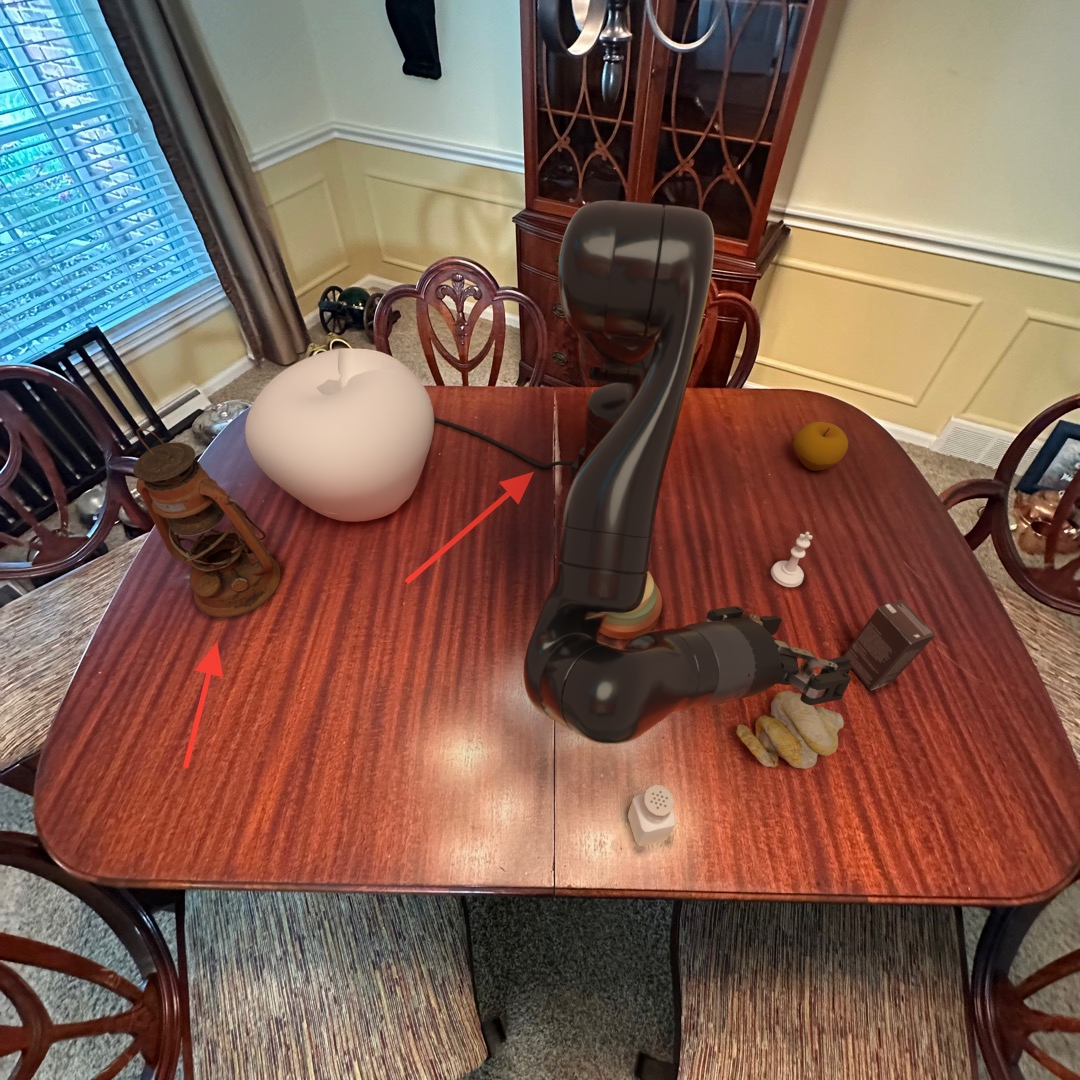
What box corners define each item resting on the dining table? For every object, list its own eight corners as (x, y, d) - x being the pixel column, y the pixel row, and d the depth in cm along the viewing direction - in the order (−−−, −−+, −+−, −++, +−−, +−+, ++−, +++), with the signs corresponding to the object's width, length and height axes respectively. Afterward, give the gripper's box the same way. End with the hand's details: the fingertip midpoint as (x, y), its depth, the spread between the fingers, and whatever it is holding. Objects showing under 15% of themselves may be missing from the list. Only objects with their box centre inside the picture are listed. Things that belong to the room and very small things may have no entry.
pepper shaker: (657, 805, 72) (670, 777, 65) (669, 840, 70) (683, 815, 63) (625, 813, 72) (635, 785, 65) (636, 848, 69) (647, 823, 62)
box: (895, 681, 83) (938, 634, 74) (868, 691, 82) (909, 645, 73) (865, 646, 87) (903, 597, 78) (839, 655, 86) (875, 607, 77)
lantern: (164, 609, 91) (41, 459, 69) (209, 545, 100) (113, 393, 77) (269, 625, 89) (177, 476, 67) (305, 558, 98) (235, 406, 75)
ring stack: (566, 614, 91) (567, 590, 86) (606, 563, 97) (609, 538, 93) (637, 653, 86) (642, 630, 82) (673, 597, 93) (680, 573, 88)
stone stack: (879, 748, 71) (756, 753, 70) (859, 774, 75) (743, 779, 74) (841, 679, 78) (730, 682, 77) (825, 706, 82) (719, 710, 81)
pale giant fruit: (373, 582, 95) (332, 464, 76) (251, 519, 103) (188, 400, 85) (472, 477, 111) (459, 358, 92) (359, 430, 119) (326, 314, 101)
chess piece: (804, 589, 94) (827, 548, 86) (771, 584, 94) (791, 542, 87) (801, 565, 97) (823, 523, 89) (770, 560, 97) (789, 518, 90)
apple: (776, 464, 113) (791, 426, 106) (802, 443, 117) (818, 405, 110) (819, 488, 108) (838, 450, 102) (845, 466, 112) (864, 428, 106)
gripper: (798, 670, 50) (886, 650, 60) (676, 590, 60) (768, 584, 70) (765, 742, 52) (854, 712, 62) (653, 653, 63) (745, 639, 73)
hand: (808, 644), depth 66 cm, fingers open, 8 cm apart
